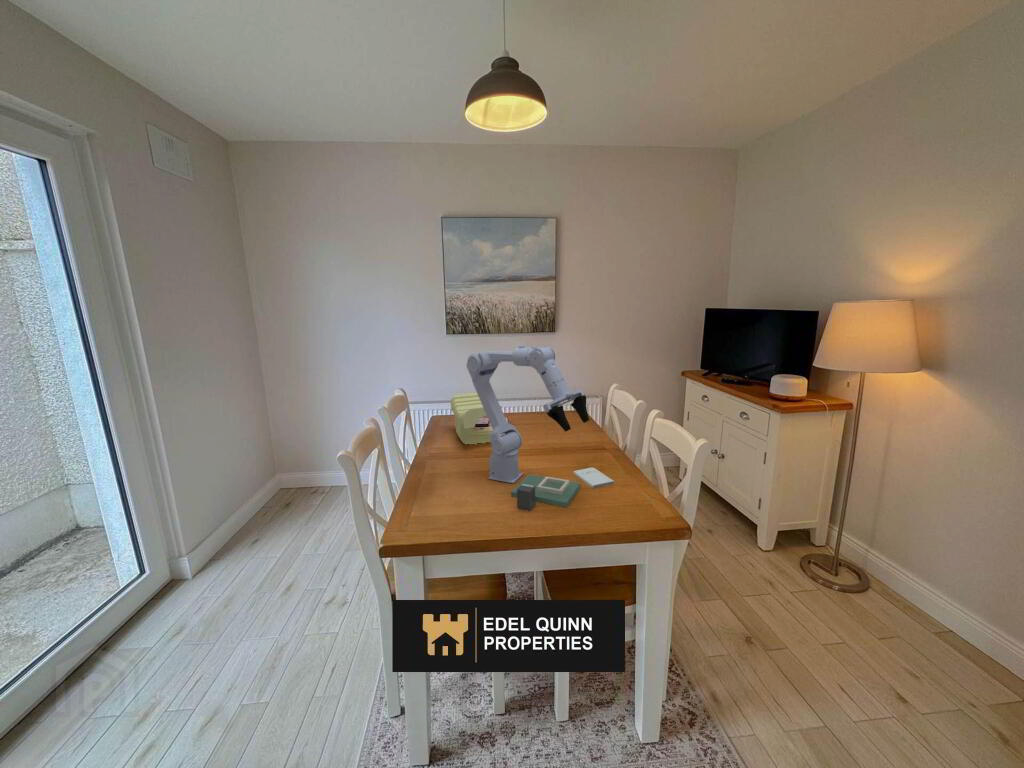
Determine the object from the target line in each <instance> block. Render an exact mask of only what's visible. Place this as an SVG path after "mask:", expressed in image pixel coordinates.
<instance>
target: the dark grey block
mask: <svg viewBox="0 0 1024 768" xmlns="http://www.w3.org/2000/svg"><path fill="white" fill-rule="evenodd" d="M516 499H517V500H516V501H517V502H516V503H517V506H516V507H517V508H518V510H523V511H526V510H528V512H531V511H532V510H533V508H534V507H535V506H536V501H535V486H532V485H526V484H522V485H521V486H520V487H519V488H518V489H517V497H516Z"/></svg>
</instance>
